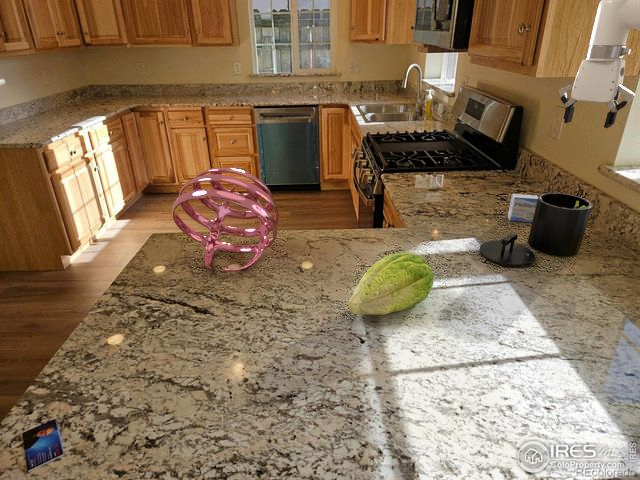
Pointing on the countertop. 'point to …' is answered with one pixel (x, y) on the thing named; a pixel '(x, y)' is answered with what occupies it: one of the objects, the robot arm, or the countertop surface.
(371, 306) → the lettuce
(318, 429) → the countertop surface
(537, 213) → the trash can
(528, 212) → the medicine box
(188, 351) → the countertop surface
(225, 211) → the pink openwork sphere
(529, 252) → the bin lid
